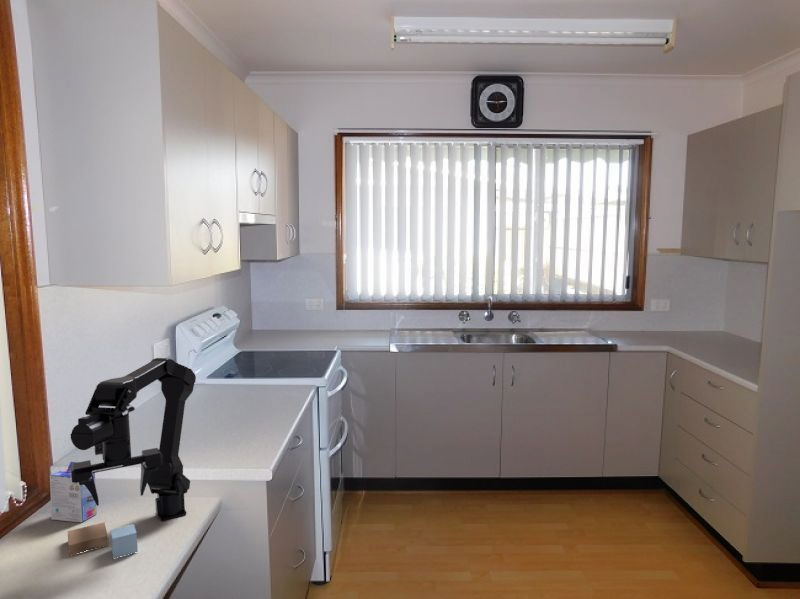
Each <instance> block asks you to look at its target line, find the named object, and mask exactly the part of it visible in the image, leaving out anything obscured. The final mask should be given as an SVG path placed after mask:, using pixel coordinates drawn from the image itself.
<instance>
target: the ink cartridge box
mask: <svg viewBox="0 0 800 599" xmlns="http://www.w3.org/2000/svg"><path fill="white" fill-rule="evenodd" d="M78 462H79V461H78ZM78 462H77V461H76V462H75V461H70V462H69V465H68V467H67V468H64V469H61V470H59V471H57V472H55V473H52V474H50V475H49V488H50V489H49V490H50V510H51V511H50V512H51V514H50V515H51V517H50V518H51V520H52V521H64V522H73V523H83V522H85V521H86V520H87V521H88V520H89V519H91V518H92V517H95V516H96V515H97V514H98V513H97V511H98V510H97V505H96V503H95V501H94V499H93V497H92V495H91V493H90V492H89V490H88V489H87V488H86V486H85V485H79V482H77V483H72V476H71V466H72V465H73V463H78ZM93 477H94V481H95V482H96V473H93Z"/></svg>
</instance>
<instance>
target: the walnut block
mask: <svg viewBox="0 0 800 599" xmlns="http://www.w3.org/2000/svg"><path fill="white" fill-rule="evenodd" d="M105 523H106V522H99V523H96V524H92V525H88V526H83V527H80V528H76V529H71V530H67V543H68V544H67V545H68V556H69V557H72V556H76V555H78V554H77V553H80V552H84V551H86V550H91V549H95V548H99V547H102V548H104V547H103V546H106V547H108V546H109V538H108V537H109V536H108V532H107V528H106V524H105ZM107 545H108V546H107ZM99 549H100V548H99ZM95 550H96V549H95ZM91 551H92V550H91ZM84 553H85V552H84ZM75 554H76V555H75ZM80 554H81V553H80ZM71 555H72V556H71Z"/></svg>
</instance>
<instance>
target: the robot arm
mask: <svg viewBox="0 0 800 599" xmlns="http://www.w3.org/2000/svg"><path fill="white" fill-rule="evenodd" d="M196 380H197V375H196V374H195V372H194V371H193V370H192V369H191V368H189V367H187V366H185V365H183V364H181V363H178V362H177V361H175V360H174V359H171V358H169V357H155V358H152V359H151V360H150V362H148V363H146V364H144V365H142V366H141V367H139V368H137V369H135V370H134V371H132V372H130V373H128V374H126V375H123V376H121V377H114V378H109V379H106V380H103V381H100V382H99V383H98V384H96V387H95V389H94V392H93V393H92V396H91V398H90V400H89V403H88V406H87V408H86V410H85V412H84V414H85V415H86V416H82V417H79V418H78V419H77V424H76V425H74V427H73V428H72V430H71V433H70V440H71V443H72V445H73V446H74V447H75V448H76V449H77V450H80V451H86V450H89V449H92V448H94V455H95V456H99V455H101V456H102V461H103V462H99V463H95V464H94V463H93V464H92V463H91V459H89V460H84V461H78V463H73V465H72V466H71V476H72V483H77V482H79V485H85V486H86V488H87V489H88V490H89V492H90V493H91V495H92V497H93V499H94V501H95V503H96V507H98V506H100V504H99V503H100V502H99V495H98V492H97V491H98V490H97V487H96V480H95V481H94V477H93V473H95V474H96V473H100V472H105V471H111V470H117V469H121V468H126V467H132V466H137V465H140V481H139V482H140V483H139V492H140V494H139V495H140V496H142V497H143V496H144V493H145V491H146V489H147V488H146V487H147V485H148V488H149V490H150V493H151V494H152V495H154V494H156V495H157V497H156V498H155V500H154V502H155V503H154V504H155V514H156V516H157V517H158V518H159V520H160V521H161V522H162V521H166V520H169V519H174V518H178V517H181V516H186V515H187V511H186V509H185V507H186V505H185V504H186V503H185V494H187V493H188V490H190V487H191V480H190V479H189V478H188V477H187V476H185V475H184V465H183V463H182V460H181V457H180V456H179V452H180V445H181V443H180V442H181V437H182V436H181V435H182V429H183V421H184V412H185V406H186V400H188V398H189V397H190V396H191V395H192V393H193V391H194V387H195V383H196ZM156 381H158V382H160V383H161V386H160V390H161V392H162V394H163V397H164V399H165V405H164V412H163V420H162V426H161V432H160V433H161V434H160V441H159V448H158V447H155V448H149V449H142V450H141V455H136V456H132V446H131V444H132V443H131V431H130V430H131V428H130V413H131V412H134V411H135V409H136V407H134V406H133V405H131V404H132V402H133V401H134V400H135V399H137V395H138V393H139V392H140V391H141V390H142V389H144V388H146V387H147V386H149V385H151V384H153V382H156Z"/></svg>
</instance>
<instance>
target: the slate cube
mask: <svg viewBox="0 0 800 599" xmlns="http://www.w3.org/2000/svg"><path fill="white" fill-rule="evenodd" d="M110 546H111V547H110V548H111V553H113V554H112V557H114V558H117V557H120V556H124V555H128V554H131V553H135V552H138V549H139V548H138V535H137V530H136V526H135V524H133V523H132V524H129V525H124V526H119V527H117V528H113V529H110ZM138 553H139V552H138ZM128 556H129V555H128ZM114 558H113V559H114Z"/></svg>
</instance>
